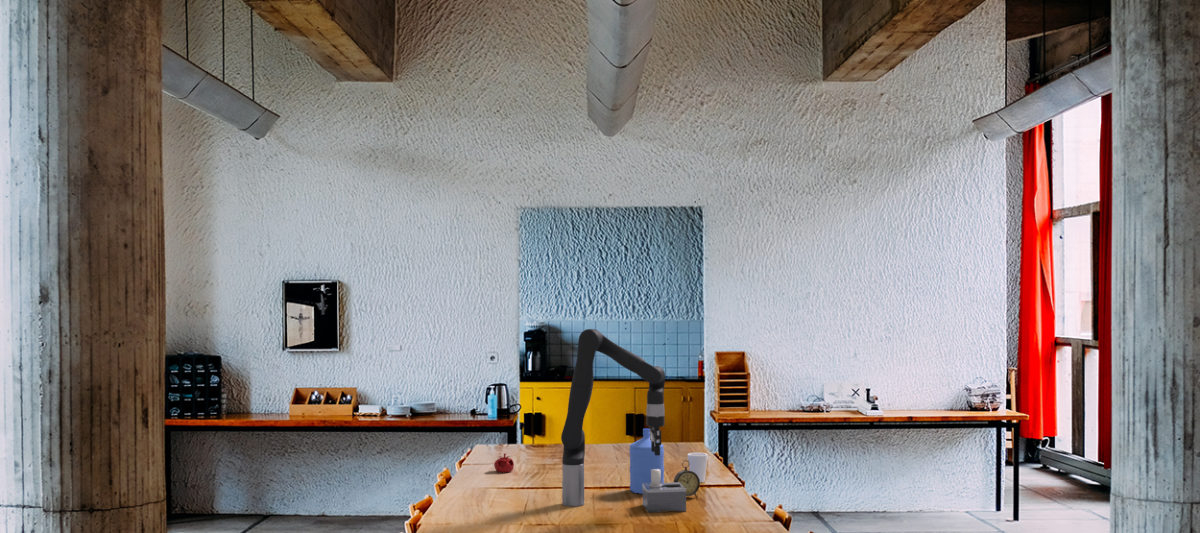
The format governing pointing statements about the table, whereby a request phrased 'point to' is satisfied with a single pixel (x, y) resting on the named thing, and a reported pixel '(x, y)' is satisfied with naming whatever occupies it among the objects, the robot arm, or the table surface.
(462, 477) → the table surface
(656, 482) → the peg
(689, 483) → the alarm clock
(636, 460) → the water jug
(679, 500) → the keyhole stand
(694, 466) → the foam cup
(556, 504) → the table surface
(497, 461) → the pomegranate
